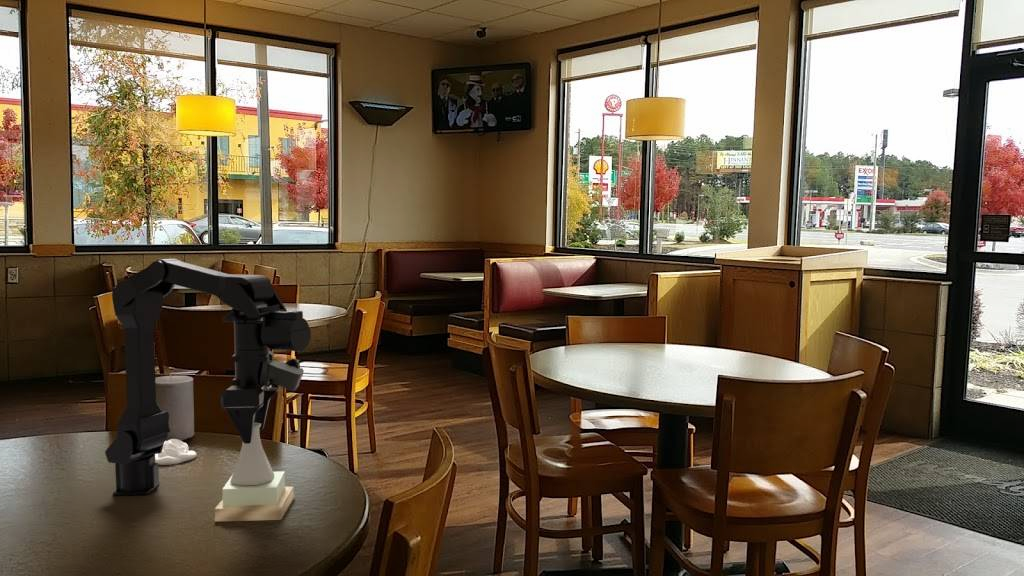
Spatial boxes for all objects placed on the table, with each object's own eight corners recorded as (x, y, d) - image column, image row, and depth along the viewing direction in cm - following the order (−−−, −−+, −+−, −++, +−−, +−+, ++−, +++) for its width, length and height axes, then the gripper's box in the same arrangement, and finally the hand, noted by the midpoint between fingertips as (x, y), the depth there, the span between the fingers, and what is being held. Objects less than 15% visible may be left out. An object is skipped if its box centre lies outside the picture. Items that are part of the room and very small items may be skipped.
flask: (260, 488, 139) (259, 430, 138) (222, 485, 140) (220, 428, 139) (281, 475, 146) (280, 420, 145) (245, 472, 147) (243, 418, 146)
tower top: (222, 506, 138) (222, 489, 138) (233, 489, 147) (233, 473, 147) (277, 504, 140) (276, 487, 139) (285, 487, 148) (284, 471, 148)
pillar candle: (141, 441, 188) (139, 376, 186) (165, 430, 197) (164, 369, 196) (180, 443, 186) (178, 378, 185) (202, 432, 196) (201, 370, 194)
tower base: (215, 526, 138) (214, 508, 137) (232, 503, 148) (232, 487, 148) (281, 524, 138) (281, 507, 138) (293, 502, 149) (293, 486, 149)
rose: (152, 434, 177) (199, 432, 179) (152, 454, 178) (200, 451, 180) (142, 447, 168) (192, 444, 170) (143, 468, 168) (193, 465, 170)
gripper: (288, 356, 133) (290, 450, 134) (308, 339, 151) (309, 422, 153) (218, 357, 132) (221, 451, 133) (247, 340, 151) (249, 423, 152)
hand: (254, 436), depth 143 cm, fingers open, 9 cm apart
